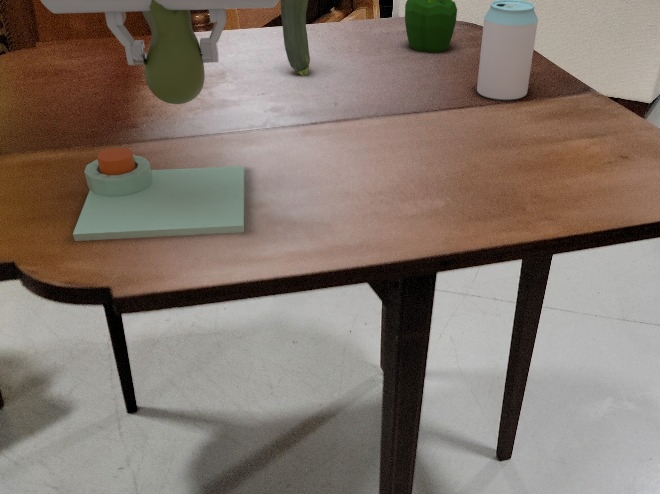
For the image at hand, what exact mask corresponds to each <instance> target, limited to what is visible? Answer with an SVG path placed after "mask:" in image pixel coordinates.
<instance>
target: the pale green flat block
mask: <svg viewBox="0 0 660 494" xmlns="http://www.w3.org/2000/svg"><path fill="white" fill-rule="evenodd" d="M133 157H134V162H135V167H136V169H135V170H133V171H131V172H129V173H125V174H121V175H105V174H101V173H100V169H99V164H98V160H97V159H95V160H93V161H91V162H90V163H88V164H86V167H85V169H84V176H85V180H86V184H87V188H88V189H89V191H88V194H87V196H86V199H85V201H84V204H83V206H82V209H81V211H80V214H79V217H78V219H77V222H76V225H75V227H74V230H73V233H72V236H73V241H75V242H78V241H79V242H81V241H82V242H83V241H102V240H120V239H122V240H123V239H137V238H139V239H140V238H157V237H158V238H159V237H173V236H174V237H175V236H193V235H194V236H196V235H215V234H233V233H234V234H235V233H244V232H245V177H246V176H245V166H244V165H235V166H233V165H231V166H213V167H212V166H211V167H210V166H209V167H189V168H168V169H167V168H165V169H164V168H163V169H152V168H151V163H150V162H151V161H149V160H148V159H146V158H145V157H144V156H141V155H136V154H133Z"/></svg>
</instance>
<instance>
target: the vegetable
mask: <svg viewBox="0 0 660 494" xmlns="http://www.w3.org/2000/svg"><path fill="white" fill-rule="evenodd" d="M308 3H309V0H280V16H281V17H280V18H281V25H282V36H283V45H284V49H285V53H286V57H287V61H288V63H289V66H290V67H291V69H293V70H294V71H295V72H296V74H299V75H300V76H301V77H305V76H308V74H309V71H310V63H311V56H310V55H311V54H310V49H309V39H308V31H307V9H308V5H309V4H308Z"/></svg>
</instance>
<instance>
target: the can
mask: <svg viewBox="0 0 660 494" xmlns="http://www.w3.org/2000/svg"><path fill="white" fill-rule="evenodd" d="M489 6H490V8H489V9H488V10H487V12H486V13H485V14H484V16H483V25H482V33H481V34H482V35H481V45H480V56H479V63H478V65H479V66H478V75H477V83H476V92H477V93H478V94H479V95H480V96H482V97H483V98H485V99H490V100H494V101H514V100H515V101H516V100H520V99H523V98H524V97H526V96H527V94H528V92H529V91H528V89H529V83H530V76H531V69H532V64H533V63H532V62H533V58H534V57H533V56H534V49H535V43H536V36H537V29H538V21H539V19H538V16H537V14H536V11H535V8H536V5H535V4H534V3H533V2H530V1H528V0H493V1H492V2H490V5H489Z"/></svg>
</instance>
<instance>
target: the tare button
mask: <svg viewBox="0 0 660 494" xmlns="http://www.w3.org/2000/svg"><path fill="white" fill-rule="evenodd" d="M133 155H134V153H133V151H132V150H131V149H130V148H127V147H110V148H106V149H103V150H101V151H99V152H98V153H97V155H96V160H98V164H99V169H100V173H101V174H105V175H121V174H125V173H129V172H131V171H133V170H135V169H136V167H135V162H134V157H133Z"/></svg>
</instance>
